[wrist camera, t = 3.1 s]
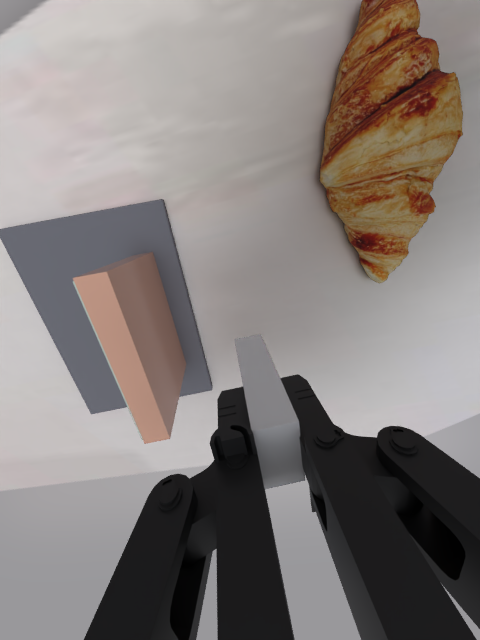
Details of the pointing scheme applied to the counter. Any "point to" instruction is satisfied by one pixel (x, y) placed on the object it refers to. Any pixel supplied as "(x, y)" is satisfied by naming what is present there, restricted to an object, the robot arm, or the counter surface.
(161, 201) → the mat
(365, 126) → the croissant
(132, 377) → the block
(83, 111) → the counter surface
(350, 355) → the counter surface
